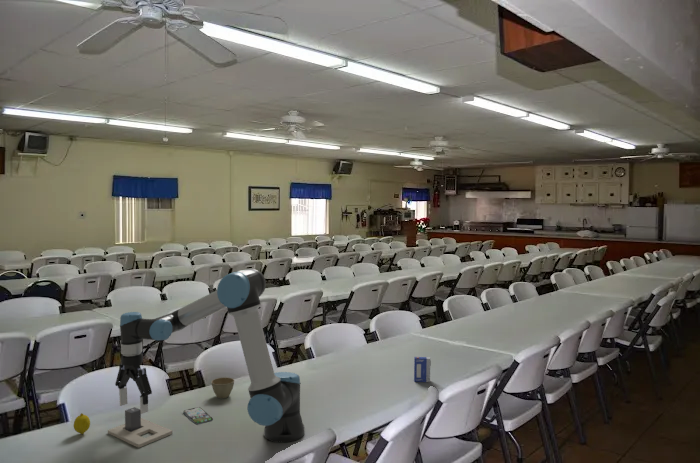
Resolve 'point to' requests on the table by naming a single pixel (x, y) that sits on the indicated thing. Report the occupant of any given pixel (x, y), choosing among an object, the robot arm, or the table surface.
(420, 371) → the walkman
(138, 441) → the outlet plate
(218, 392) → the flower pot
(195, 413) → the smartphone
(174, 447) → the table surface
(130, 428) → the dark grey rectangular block
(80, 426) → the fruit
